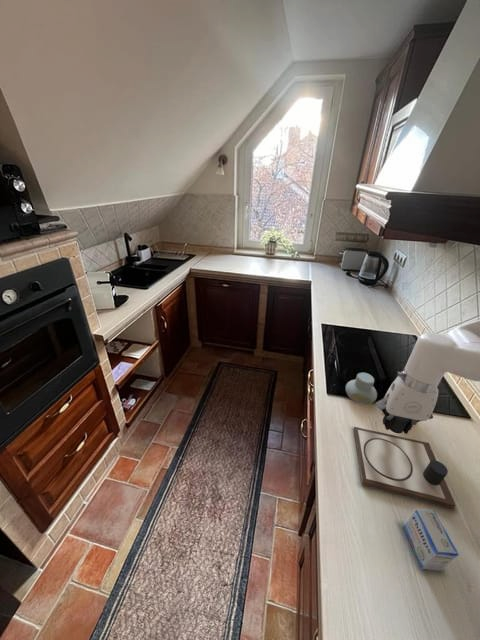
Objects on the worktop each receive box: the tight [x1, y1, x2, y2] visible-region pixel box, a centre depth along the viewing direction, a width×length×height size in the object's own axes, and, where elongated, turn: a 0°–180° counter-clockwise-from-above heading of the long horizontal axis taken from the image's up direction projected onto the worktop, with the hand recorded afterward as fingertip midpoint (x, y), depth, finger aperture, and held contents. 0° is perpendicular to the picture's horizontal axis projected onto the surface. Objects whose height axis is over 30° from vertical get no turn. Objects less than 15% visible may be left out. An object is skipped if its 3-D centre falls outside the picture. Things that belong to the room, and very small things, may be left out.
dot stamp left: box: [389, 416, 409, 435], centre depth 71 cm, size 4×4×5 cm
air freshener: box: [345, 372, 378, 405], centre depth 95 cm, size 11×8×10 cm
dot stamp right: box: [423, 459, 449, 485], centre depth 68 cm, size 4×4×5 cm
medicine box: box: [402, 508, 460, 571], centre depth 55 cm, size 8×4×9 cm, turn 178°
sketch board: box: [352, 426, 457, 509], centre depth 74 cm, size 22×18×2 cm
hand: (395, 427), depth 72 cm, fingers closed on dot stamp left, 4 cm apart
